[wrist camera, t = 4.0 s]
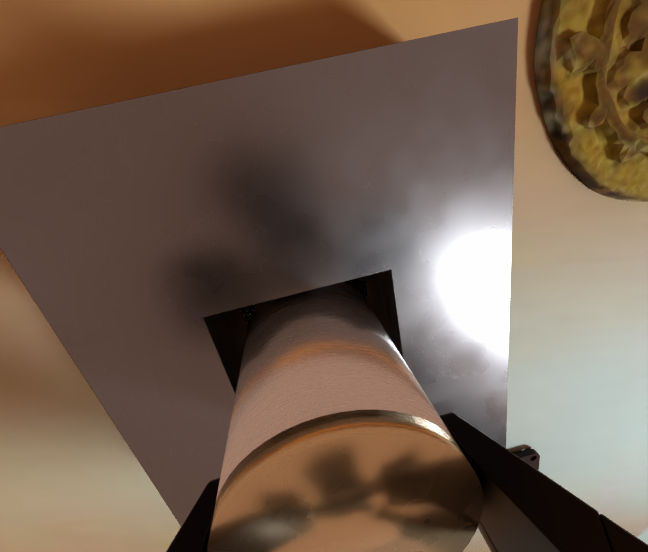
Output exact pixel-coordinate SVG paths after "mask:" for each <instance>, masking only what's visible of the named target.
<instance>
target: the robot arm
mask: <svg viewBox="0 0 648 552" xmlns="http://www.w3.org/2000/svg"><path fill="white" fill-rule="evenodd" d="M440 418H441V419H442V421H443V422H444V424H445V426H446V427H447V429H448V430H449V432H450V433H451V435H452V437H453V438H454V440H455V441H456V443H457V444H458V446H459V448H460V449H461V451H462V452H463V454H464V456H465V457H466V459H467V460H468V462H469V463H470V465H471V467H472V468H473V470H474V471H475V473H476V475H477V476H478V478H479V481H480V484H481V487H482V491H483V511H482V515H481V519H480V523H479V525H478V528H479V530H480V532H481V534H482V536H483V537H484V539H485V541H486V543H487V545H488V547H489V548H490V550H491V552H648V545H647V544H646V543H644V542H643V541H641V540H640V539H638V538H637V537H635V536H634V535H632V534H631V533H629V532H628V531H626V530H625V529H623V528H622V527H620V526H619V525H617V524H616V523H614V522H613V521H611V520H610V519H608V518H607V517H606V516H604V515H603V514H600V515H599V513H598V511H597V510H595V509H594V508H592V507H591V506H589V505H588V504H586V503H585V502H583V501H582V500H580V499H579V498H578V497H576V496H575V495H573V494H572V493H570V492H569V491H567V490H566V489H564V488H563V487H562V486H560V485H559V484H557V483H556V482H554V481H553V480H551V479H550V478H548V477H547V476H545V475H544V474H543V473H541V472H540V471H538V469H539V458H540V456H539V454H538V453H537V452H536V451H535V450H534V449H529V450H526V451H522V452H519V453H515V454H513V453H512V452H510V451H509V450H507V449H506V448H505V447H503V446H502V445H500V444H499V443H497V442H496V441H494V440H493V439H491V438H490V437H489V436H487V435H486V434H484V433H483V432H481V431H480V430H478V429H477V428H475V427H474V426H472V425H471V424H470V423H468V422H467V421H465V420H464V419H462V418H461V417H459V416H458V415H456V414H455V413H452V412H449V413H446V414H442V415H440ZM219 482H220V478H217V479H214V480H211V481H210V482H209V483H208V484H207V485H206V487H205V488H204V490H203V492H202V493H201V495H200V497H199V498H198V500H197V502H196V503H195V505H194V507H193V508H192V510H191V512H190V513H189V515H188V517H187V518H186V520H185V522H184V523H183V525H182V526H181V528H180V530H179V531H178V533H177V535H176V536H175V538H174V540H173V541H172V543H171V545H170V546H169V548H168V550H167V551H166V552H208V542H209V536H210V531H211V525H212V520H213V515H214V509H215V504H216V498H217V493H218V487H219Z"/></svg>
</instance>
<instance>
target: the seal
mask: <svg viewBox="0 0 648 552" xmlns="http://www.w3.org/2000/svg"><path fill="white" fill-rule="evenodd" d="M534 72H535V82H536V87H537V92H538V97H539V101H540V105H541V109H542V113H543V117H544V121H545V125H546V127H547V129H548V133H549V136H550V137H551V139H552V141H553V144H554V146H555V148H556V149H557V150H558V151H559V152H560V154H561V156H562V157H563V159H564V160H565V162H566V163H567V165H568V166H569V168H570V169H571V171H572V172H573V174H574V175H576V176H577V177H578V178H579V179H580V180H581V181H582V182H583V183H584V184H585V185H586V187H587V188H589V189H591V190H593V191H595V192H597V193H599V194H601V195H604V196H607V197H611V198H615V199H619V200H627V201H645V202H646V201H648V0H543V2H542V6H541V11H540V16H539V22H538V28H537V35H536V45H535V60H534Z"/></svg>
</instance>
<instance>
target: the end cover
mask: <svg viewBox="0 0 648 552" xmlns="http://www.w3.org/2000/svg"><path fill="white" fill-rule="evenodd" d="M482 511H483V491H482V487H481V484H480V481H479V478H478V476H477V475H476V473H475V471H474V470H473V468H472V467H471V465H470V463H469V462H468V460H467V459H466V457H465V456H464V454H463V452H462V451H461V449H460V448H459V446H458V444H457V443H456V441H455V440H454V438H453V437H452V435H451V433H450V432H449V430H448V429H447V427H446V426H445V424H444V422H443V421H442V419H441V418H440V416H439V415H438V413H437V411H436V410H435V408H434V407H433V405H432V403H431V402H430V400H429V399H428V397H427V396H426V394H425V392H424V391H423V389H422V388H421V386H420V385H419V383H418V381H417V380H416V378H415V377H414V375H413V374H412V372H411V370H410V369H409V367H408V366H407V364H406V362H405V361H404V359H403V358H402V356H401V355H400V353H399V351H398V350H397V348H396V347H395V345H394V344H393V342H392V340H391V339H390V337H389V336H388V334H387V332H386V331H385V329H384V328H383V326H382V325H381V323H380V321H379V320H378V318H377V317H376V315H375V314H374V312H373V310H372V309H371V307H370V306H369V304H368V303H367V301H366V299H365V298H364V297H363V296H362V295H361V294H360V293H359V292H358V291H357V290H356V289H355V288H353V287H352V286H350V285H349V284H346V283H344V282H340V283H336V284H332V285H328V286H324V287H320V288H316V289H312V290H308V291H305V292H301V293H297V294H293V295H289V296H285V297H281V298H277V299H273V300H269V301H265V302H261V303H259V304H258V305H257V306H256V308H255V309H254V311H253V313H252V315H251V318H250V321H249V324H248V329H247V335H246V340H245V346H244V351H243V356H242V362H241V367H240V373H239V378H238V384H237V389H236V395H235V400H234V406H233V411H232V416H231V422H230V427H229V433H228V438H227V444H226V449H225V455H224V460H223V466H222V471H221V476H220V482H219V487H218V493H217V498H216V504H215V509H214V515H213V520H212V525H211V531H210V536H209V542H208V552H462V551H463V550H464V549H465V547H466V546H467V545H468V544H469V542H470V540H471V539H472V537H473V535H474V534H475V532H476V529H477V527H478V525H479V523H480V519H481V515H482Z"/></svg>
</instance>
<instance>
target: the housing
mask: <svg viewBox="0 0 648 552" xmlns="http://www.w3.org/2000/svg"><path fill="white" fill-rule="evenodd" d="M517 35H518V18H514V19H509V20H504V21H499V22H495V23H490V24H485V25H480V26H476V27H471V28H466V29H462V30H457V31H452V32H447V33H443V34H438V35H433V36H428V37H424V38H419V39H414V40H409V41H405V42H400V43H395V44H391V45H386V46H381V47H376V48H372V49H367V50H362V51H357V52H353V53H348V54H343V55H339V56H334V57H329V58H324V59H320V60H315V61H310V62H305V63H301V64H296V65H291V66H286V67H282V68H277V69H272V70H268V71H263V72H258V73H253V74H249V75H244V76H239V77H234V78H230V79H225V80H220V81H216V82H211V83H206V84H201V85H197V86H192V87H187V88H182V89H178V90H173V91H168V92H163V93H159V94H154V95H149V96H145V97H140V98H135V99H130V100H126V101H121V102H116V103H111V104H107V105H102V106H97V107H93V108H88V109H83V110H78V111H74V112H69V113H64V114H59V115H55V116H50V117H45V118H40V119H36V120H31V121H26V122H22V123H17V124H12V125H7V126H3V127H0V249H1V250H2V252H3V253H4V255H5V256H6V258H7V259H8V261H9V262H10V264H11V266H12V267H13V269H14V270H15V272H16V273H17V275H18V276H19V278H20V279H21V281H22V282H23V284H24V286H25V287H26V289H27V290H28V292H29V293H30V295H31V296H32V298H33V299H34V301H35V302H36V304H37V306H38V307H39V309H40V310H41V312H42V313H43V315H44V316H45V318H46V319H47V321H48V322H49V324H50V326H51V327H52V329H53V330H54V332H55V333H56V335H57V336H58V338H59V339H60V341H61V342H62V344H63V346H64V347H65V349H66V350H67V352H68V353H69V355H70V356H71V358H72V359H73V361H74V362H75V364H76V366H77V367H78V369H79V370H80V372H81V373H82V375H83V376H84V378H85V379H86V381H87V382H88V384H89V386H90V387H91V389H92V390H93V392H94V393H95V395H96V396H97V398H98V399H99V401H100V402H101V404H102V406H103V407H104V409H105V410H106V412H107V413H108V415H109V416H110V418H111V419H112V421H113V422H114V424H115V426H116V427H117V429H118V430H119V432H120V433H121V435H122V436H123V438H124V439H125V441H126V442H127V444H128V446H129V447H130V449H131V450H132V452H133V453H134V455H135V456H136V458H137V459H138V461H139V462H140V464H141V466H142V467H143V469H144V470H145V472H146V473H147V475H148V476H149V478H150V479H151V481H152V482H153V484H154V486H155V487H156V489H157V490H158V492H159V493H160V495H161V496H162V498H163V499H164V501H165V502H166V504H167V506H168V507H169V509H170V510H171V512H172V513H173V515H174V516H175V518H176V519H177V521H178V522H179V524H180V526H182V525H183V523H184V522H185V520H186V518H187V517H188V515H189V513H190V512H191V510H192V508H193V507H194V505H195V503H196V502H197V500H198V498H199V497H200V495H201V493H202V492H203V490H204V488H205V487H206V485H207V484H208V483H209V482H210V481H211V480H214V479H217V478H220V476H221V471H222V466H223V460H224V455H225V449H226V444H227V438H228V433H229V427H230V422H231V416H232V411H233V406H234V400H235V395H236V389H237V384H238V378H239V373H240V367H241V362H242V356H243V351H244V346H245V340H246V335H247V326H246V323H245V320H244V318H243V315H242V312H241V309H240V308H242V307H245V306H249V305H253V304H257V303H261V302H265V301H269V300H273V299H277V298H281V297H285V296H289V295H293V294H297V293H301V292H305V291H308V290H312V289H316V288H320V287H324V286H328V285H332V284H336V283H340V282H344V281H348V280H352V279H356V278H360V277H364V278H365V284H366V290H367V296H368V301H369V306H370V307H371V309H372V310H373V312H374V314H375V315H376V317H377V318H378V320H379V321H380V323H381V325H382V326H383V328H384V329H385V331H386V332H387V334H388V336H389V337H390V339H391V340H392V342H393V344H394V345H395V347H396V348H397V350H398V351H399V353H400V355H401V356H402V358H403V359H404V361H405V362H406V364H407V366H408V367H409V369H410V370H411V372H412V374H413V375H414V377H415V378H416V380H417V381H418V383H419V385H420V386H421V388H422V389H423V391H424V392H425V394H426V396H427V397H428V399H429V400H430V402H431V403H432V405H433V407H434V408H435V410H436V411H437V413H438V415H439V416H440V415H442V414H446V413H449V412H452V413H455V414H456V415H458V416H459V417H461V418H462V419H464V420H465V421H467V422H468V423H470V424H471V425H472V426H474V427H475V428H477V429H478V430H480V431H481V432H483V433H484V434H486V435H487V436H489V437H490V438H491V439H493V440H494V441H496V442H497V443H499V444H500V445H502V446H503V447H505V448H506V421H507V386H508V351H509V316H510V281H511V245H512V210H513V175H514V140H515V105H516V70H517Z"/></svg>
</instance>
